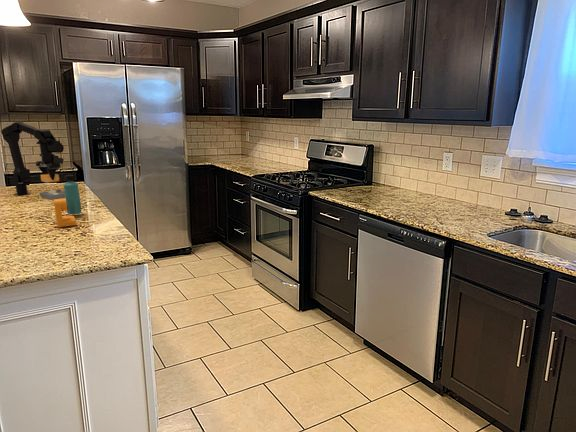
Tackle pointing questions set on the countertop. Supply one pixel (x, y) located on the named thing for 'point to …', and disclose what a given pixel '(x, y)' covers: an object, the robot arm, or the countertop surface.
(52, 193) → the breaker button
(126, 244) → the countertop surface
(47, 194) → the panel
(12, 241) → the countertop surface
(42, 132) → the robot arm
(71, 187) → the beverage bottle
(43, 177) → the cap
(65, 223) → the bracket
